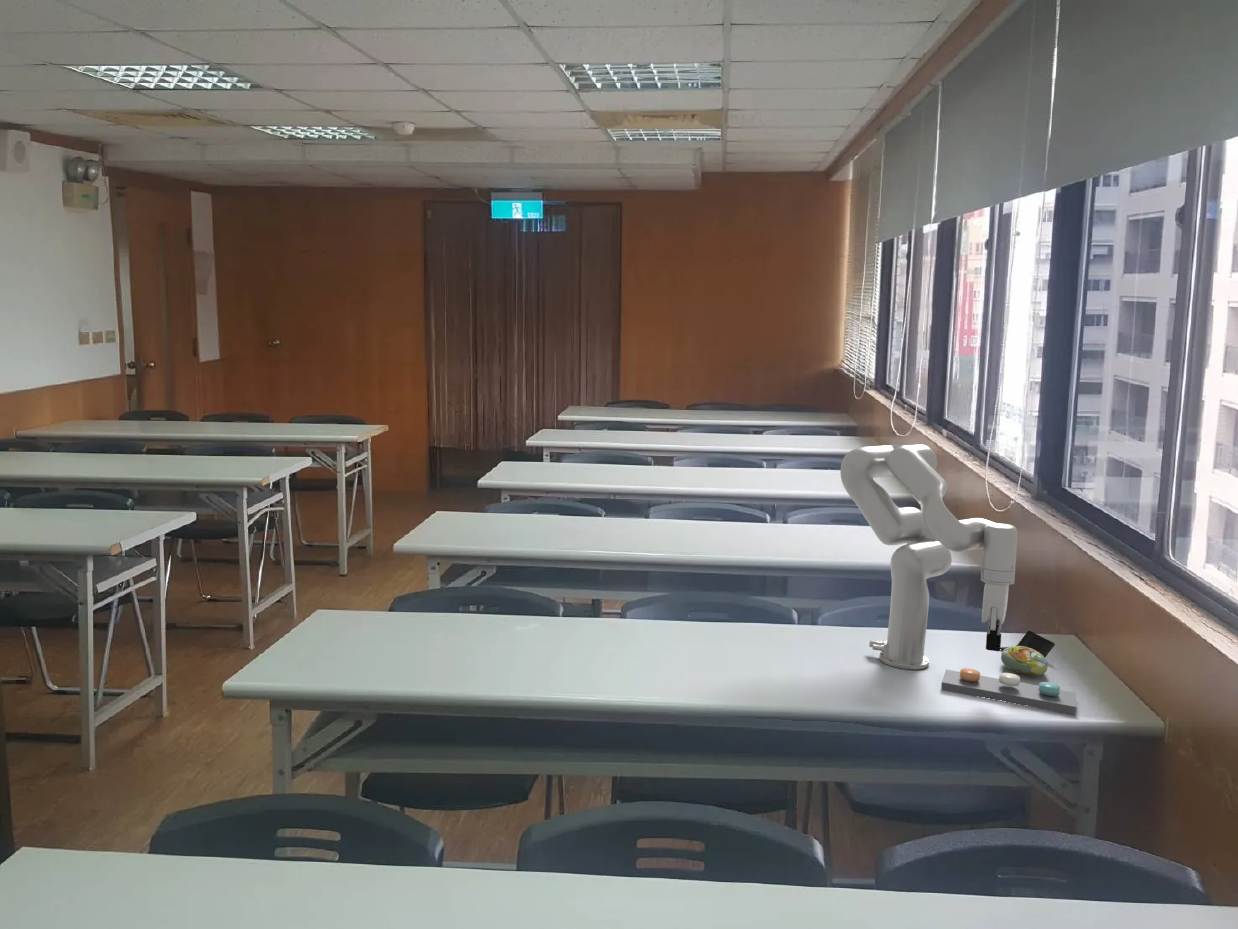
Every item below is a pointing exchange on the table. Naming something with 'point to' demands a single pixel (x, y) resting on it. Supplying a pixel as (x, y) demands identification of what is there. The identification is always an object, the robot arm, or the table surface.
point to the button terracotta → (970, 674)
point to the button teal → (1049, 688)
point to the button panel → (1010, 692)
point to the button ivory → (1009, 679)
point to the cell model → (1024, 660)
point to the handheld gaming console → (1035, 643)
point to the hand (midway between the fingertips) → (993, 649)
